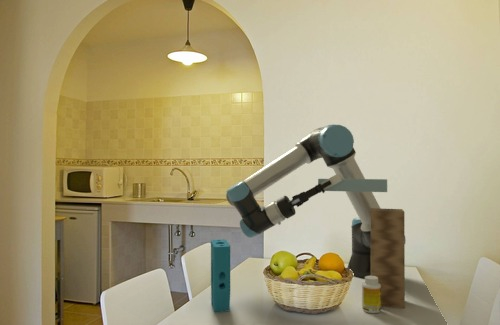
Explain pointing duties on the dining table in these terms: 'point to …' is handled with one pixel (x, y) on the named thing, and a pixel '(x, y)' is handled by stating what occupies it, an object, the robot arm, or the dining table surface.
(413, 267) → the dining table surface
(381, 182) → the bar
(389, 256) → the walnut stand
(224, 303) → the block
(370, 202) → the robot arm
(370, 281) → the supplement bottle
